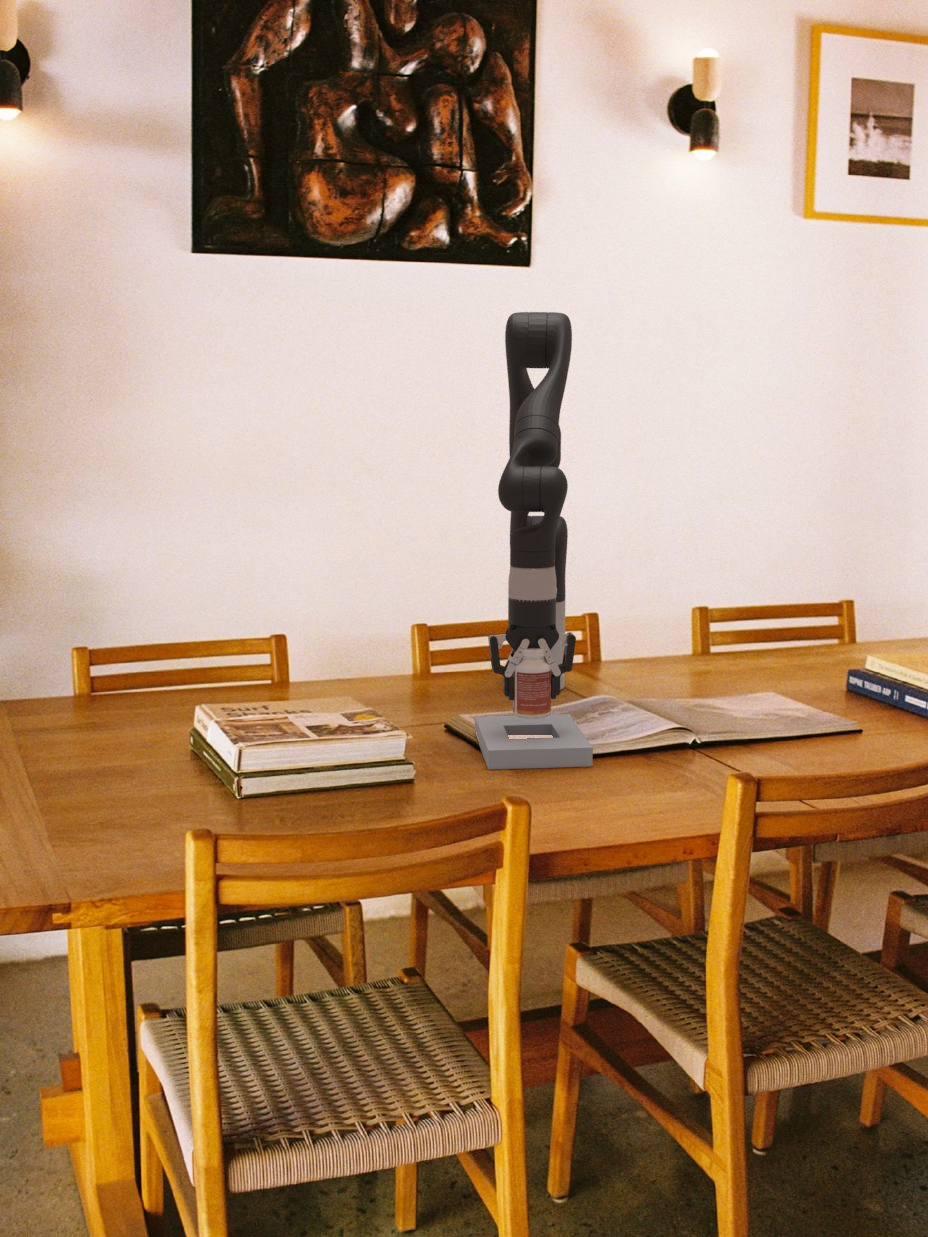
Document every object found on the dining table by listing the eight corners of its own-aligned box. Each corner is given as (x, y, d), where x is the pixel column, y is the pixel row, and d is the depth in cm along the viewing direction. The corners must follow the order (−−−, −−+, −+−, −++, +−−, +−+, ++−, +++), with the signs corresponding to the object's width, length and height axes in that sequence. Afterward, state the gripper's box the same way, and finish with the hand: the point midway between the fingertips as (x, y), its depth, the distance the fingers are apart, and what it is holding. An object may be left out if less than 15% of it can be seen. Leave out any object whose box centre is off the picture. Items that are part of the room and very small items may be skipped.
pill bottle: (559, 716, 199) (559, 647, 197) (527, 721, 195) (528, 652, 193) (535, 708, 204) (536, 641, 202) (504, 713, 200) (504, 645, 198)
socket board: (475, 734, 210) (475, 716, 209) (569, 731, 211) (569, 714, 210) (488, 769, 190) (488, 750, 189) (592, 766, 191) (592, 747, 191)
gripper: (573, 590, 200) (572, 692, 203) (484, 591, 199) (484, 694, 202) (582, 597, 193) (580, 703, 196) (489, 599, 192) (489, 705, 195)
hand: (531, 698), depth 199 cm, fingers closed on pill bottle, 6 cm apart
